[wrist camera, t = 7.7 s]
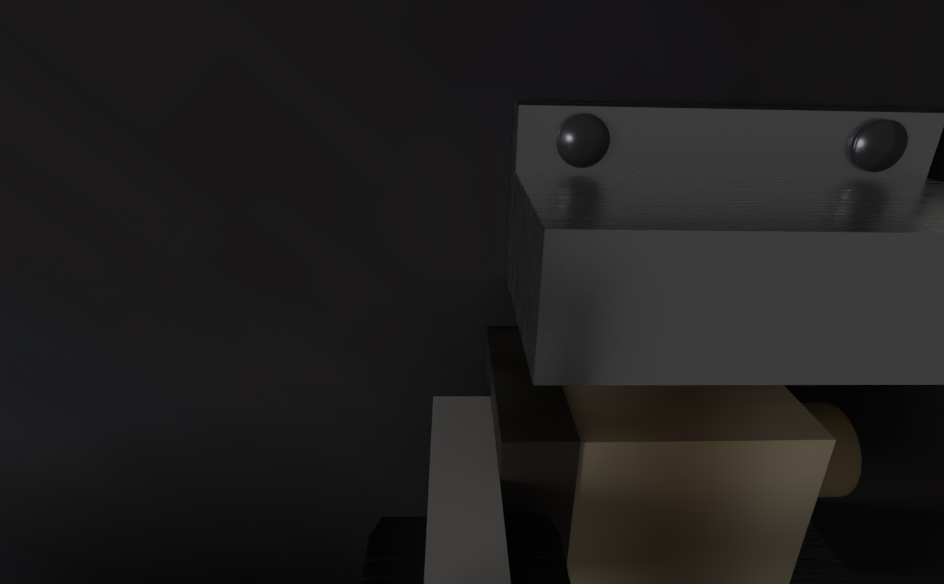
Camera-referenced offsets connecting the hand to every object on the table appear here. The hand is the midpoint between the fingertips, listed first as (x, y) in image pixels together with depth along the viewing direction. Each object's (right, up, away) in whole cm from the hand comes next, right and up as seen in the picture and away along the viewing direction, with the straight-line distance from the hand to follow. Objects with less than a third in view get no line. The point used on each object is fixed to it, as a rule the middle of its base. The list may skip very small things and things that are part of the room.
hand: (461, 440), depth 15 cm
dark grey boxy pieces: (+6, +1, +2) cm, 7 cm away
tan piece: (+4, +1, +2) cm, 5 cm away
